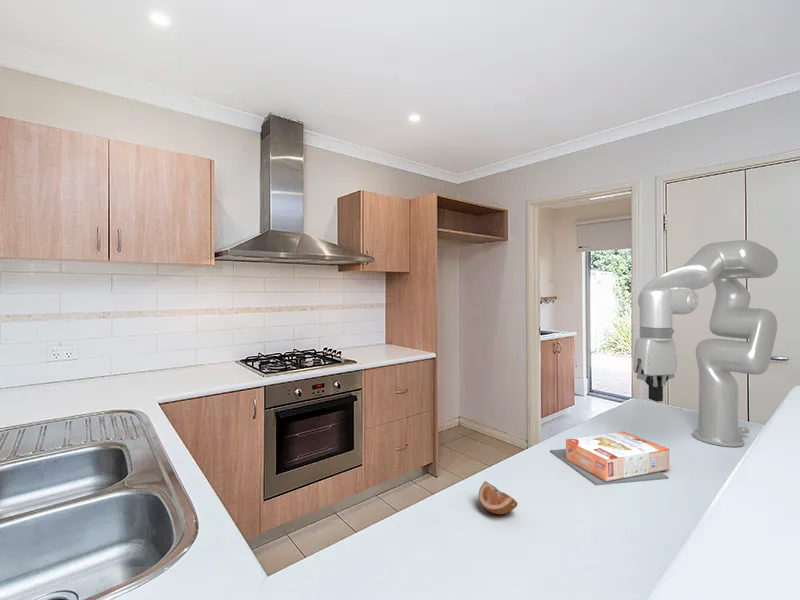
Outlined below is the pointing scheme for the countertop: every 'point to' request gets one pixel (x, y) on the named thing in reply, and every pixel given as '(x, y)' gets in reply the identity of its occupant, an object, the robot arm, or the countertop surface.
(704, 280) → the robot arm
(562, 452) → the mat
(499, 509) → the fruit slice
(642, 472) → the cracker box
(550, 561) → the countertop surface
